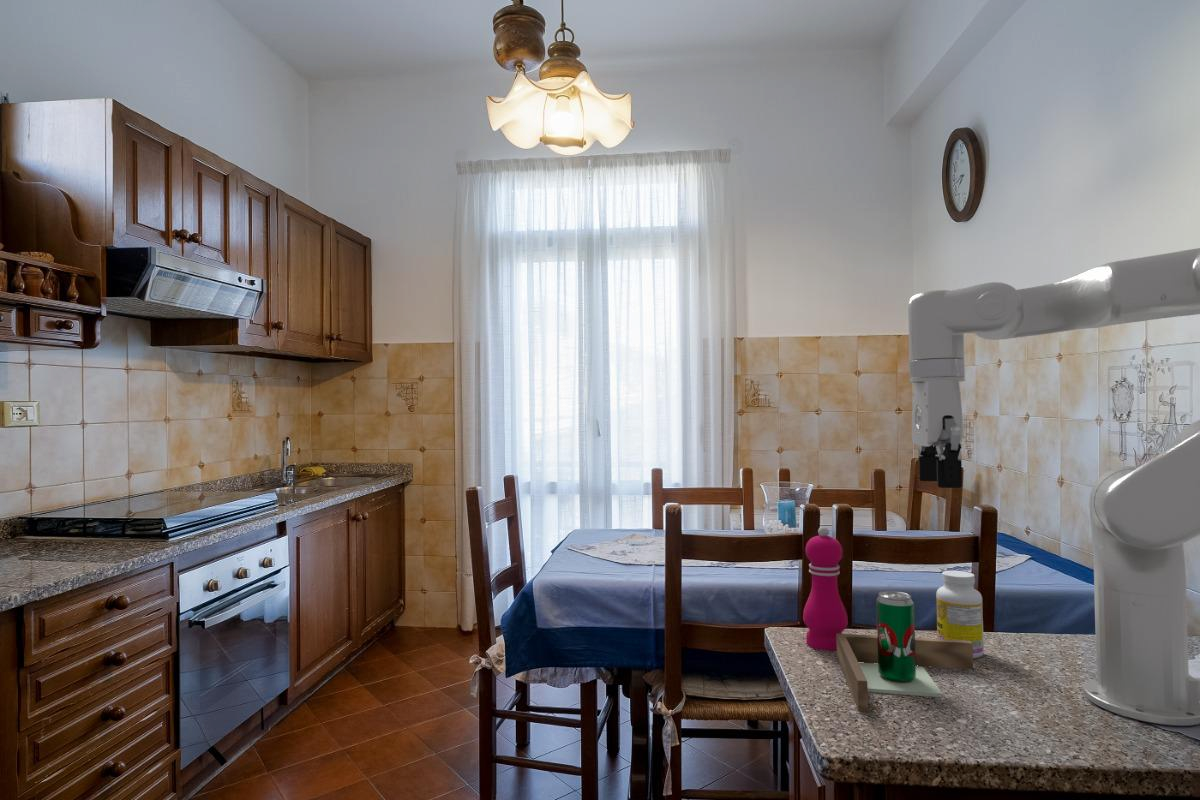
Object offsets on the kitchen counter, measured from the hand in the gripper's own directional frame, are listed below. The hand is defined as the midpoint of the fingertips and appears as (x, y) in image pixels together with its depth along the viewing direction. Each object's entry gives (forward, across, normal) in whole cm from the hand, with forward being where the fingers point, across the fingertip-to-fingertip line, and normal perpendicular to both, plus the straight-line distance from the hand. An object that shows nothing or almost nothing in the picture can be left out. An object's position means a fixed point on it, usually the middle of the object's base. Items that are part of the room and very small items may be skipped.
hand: (939, 484), depth 100 cm
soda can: (+28, +5, -8) cm, 29 cm away
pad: (+28, +5, -8) cm, 30 cm away
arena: (+28, +7, -5) cm, 30 cm away
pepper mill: (+28, -9, -16) cm, 34 cm away
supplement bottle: (+28, -9, +5) cm, 30 cm away
